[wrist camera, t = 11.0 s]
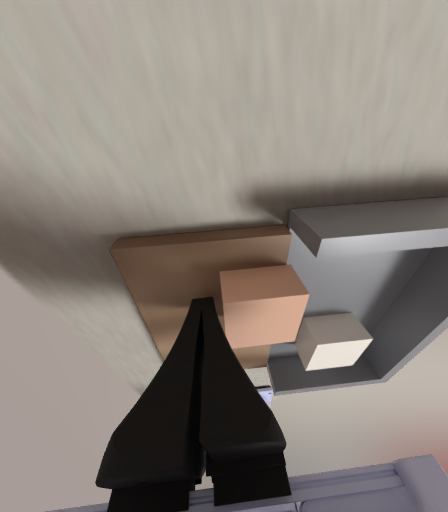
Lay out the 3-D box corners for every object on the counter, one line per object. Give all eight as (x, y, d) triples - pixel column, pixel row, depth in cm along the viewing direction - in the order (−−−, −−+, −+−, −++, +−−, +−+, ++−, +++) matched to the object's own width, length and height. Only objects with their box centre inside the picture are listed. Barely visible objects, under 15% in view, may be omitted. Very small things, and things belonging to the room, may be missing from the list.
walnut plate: (263, 355, 20) (266, 366, 19) (174, 365, 20) (172, 377, 19) (284, 224, 11) (292, 234, 10) (117, 238, 11) (109, 250, 10)
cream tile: (336, 339, 19) (352, 365, 17) (294, 344, 19) (305, 370, 17) (352, 312, 16) (373, 338, 14) (303, 317, 16) (317, 344, 14)
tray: (361, 348, 21) (385, 382, 19) (264, 359, 21) (274, 395, 18) (478, 194, 11) (573, 217, 8) (290, 208, 11) (321, 239, 8)
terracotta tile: (281, 310, 14) (294, 341, 12) (223, 316, 14) (226, 349, 12) (290, 264, 11) (309, 294, 9) (219, 271, 11) (222, 303, 9)
